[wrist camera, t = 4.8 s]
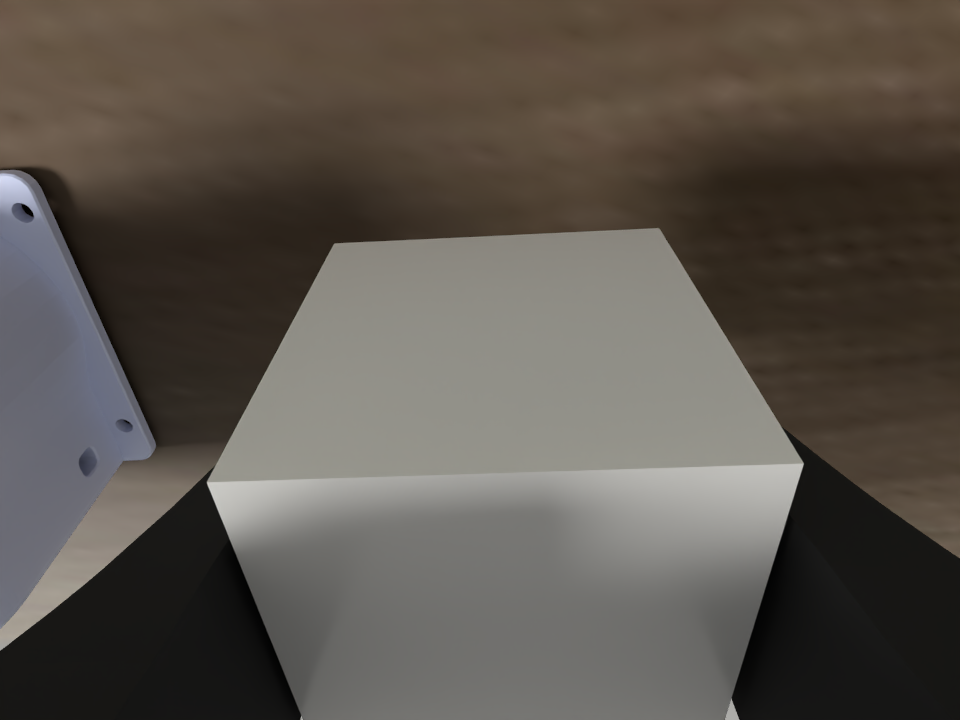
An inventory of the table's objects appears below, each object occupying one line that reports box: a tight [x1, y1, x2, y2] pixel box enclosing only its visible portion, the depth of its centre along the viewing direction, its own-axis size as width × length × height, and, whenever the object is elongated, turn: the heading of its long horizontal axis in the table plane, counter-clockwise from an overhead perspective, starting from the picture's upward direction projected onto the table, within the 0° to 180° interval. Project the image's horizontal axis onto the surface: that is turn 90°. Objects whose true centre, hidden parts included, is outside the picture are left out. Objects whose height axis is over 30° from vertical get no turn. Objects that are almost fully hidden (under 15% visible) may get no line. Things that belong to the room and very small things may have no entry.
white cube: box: [207, 228, 804, 720], centre depth 8 cm, size 5×5×5 cm
